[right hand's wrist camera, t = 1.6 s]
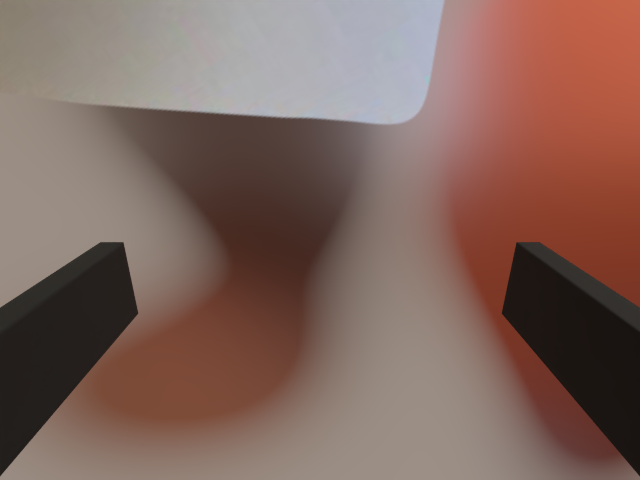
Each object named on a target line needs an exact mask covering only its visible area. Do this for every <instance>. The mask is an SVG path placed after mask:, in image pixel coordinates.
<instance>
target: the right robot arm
mask: <svg viewBox="0 0 640 480" xmlns="http://www.w3.org/2000/svg"><path fill="white" fill-rule="evenodd" d="M137 314H138V310H137V306H136V301H135V296H134V291H133V286H132V281H131V277H130V272H129V267H128V262H127V257H126V253H125V248H124V243H123V242H100V243H99V244H97V245H96V246H94V247H93V248H91V249H89V250H88V251H86V252H85V253H83V254H82V255H80V256H79V257H77V258H76V259H74V260H73V261H71V262H70V263H68V264H67V265H65V266H63V267H62V268H60V269H59V270H57V271H56V272H54V273H53V274H51V275H50V276H48V277H47V278H45V279H44V280H42V281H41V282H39V283H37V284H36V285H34V286H33V287H31V288H30V289H28V290H27V291H25V292H24V293H22V294H21V295H19V296H18V297H16V298H15V299H13V300H11V301H10V302H8V303H7V304H5V305H4V306H2V307H1V308H0V476H1V475H2V473H3V472H4V471H5V470H6V469H7V468H8V466H9V465H10V464H11V463H12V462H13V460H14V459H15V458H16V457H17V456H18V455H19V453H20V452H21V451H22V450H23V449H24V447H25V446H26V445H27V444H28V443H29V441H30V440H31V439H32V438H33V437H34V436H35V435H36V433H37V432H38V431H39V430H40V429H41V427H42V426H43V425H44V424H45V423H46V421H47V420H48V419H49V418H50V417H51V416H52V414H53V413H54V412H55V411H56V410H57V409H58V407H59V406H60V405H61V404H62V403H63V401H64V400H65V399H66V398H67V397H68V396H69V394H70V393H71V392H72V391H73V390H74V389H75V387H76V386H77V385H78V384H79V383H80V381H81V380H82V379H83V378H84V377H85V376H86V374H87V373H88V372H89V371H90V370H91V368H92V367H93V366H94V365H95V364H96V363H97V361H98V360H99V359H100V358H101V357H102V356H103V354H104V353H105V352H106V351H107V350H108V348H109V347H110V346H111V345H112V344H113V343H114V341H115V340H116V339H117V338H118V337H119V335H120V334H121V333H122V332H123V331H124V330H125V328H126V327H127V326H128V325H129V324H130V322H131V321H132V320H133V319H134V318H135V317H136V315H137ZM502 314H503V315H504V317H505V318H506V319H507V320H508V321H509V322H510V324H511V325H512V326H513V327H514V328H515V330H516V331H517V332H518V333H519V334H520V335H521V337H522V338H523V339H524V340H525V341H526V343H527V344H528V345H529V346H530V347H531V348H532V350H533V351H534V352H535V353H536V354H537V355H538V357H539V358H540V359H541V360H542V361H543V363H544V364H545V365H546V366H547V367H548V368H549V370H550V371H551V372H552V373H553V374H554V376H555V377H556V378H557V379H558V380H559V381H560V383H561V384H562V385H563V386H564V387H565V389H566V390H567V391H568V392H569V393H570V394H571V396H572V397H573V398H574V399H575V400H576V401H577V403H578V404H579V405H580V406H581V407H582V408H583V410H584V411H585V412H586V413H587V414H588V416H589V417H590V418H591V419H592V420H593V422H594V423H595V424H596V425H597V426H598V427H599V429H600V430H601V431H602V432H603V433H604V435H605V436H606V437H607V438H608V439H609V440H610V442H611V443H612V444H613V445H614V446H615V447H616V449H617V450H618V451H619V452H620V453H621V455H622V456H623V457H624V458H625V459H626V460H627V462H628V463H629V464H630V465H631V466H632V467H633V469H634V470H635V471H636V472H637V473H638V475H639V476H640V308H639V307H638V306H636V305H635V304H633V303H632V302H630V301H629V300H627V299H626V298H624V297H623V296H621V295H619V294H618V293H616V292H615V291H613V290H612V289H610V288H609V287H607V286H606V285H604V284H603V283H601V282H600V281H598V280H596V279H595V278H593V277H592V276H590V275H589V274H587V273H586V272H584V271H583V270H581V269H580V268H578V267H576V266H575V265H573V264H572V263H570V262H569V261H567V260H566V259H564V258H563V257H561V256H560V255H558V254H557V253H555V252H554V251H552V250H551V249H549V248H547V247H546V246H544V245H543V244H541V243H540V242H517V243H516V248H515V253H514V257H513V262H512V267H511V272H510V277H509V281H508V286H507V291H506V296H505V301H504V305H503V310H502Z"/></svg>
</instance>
